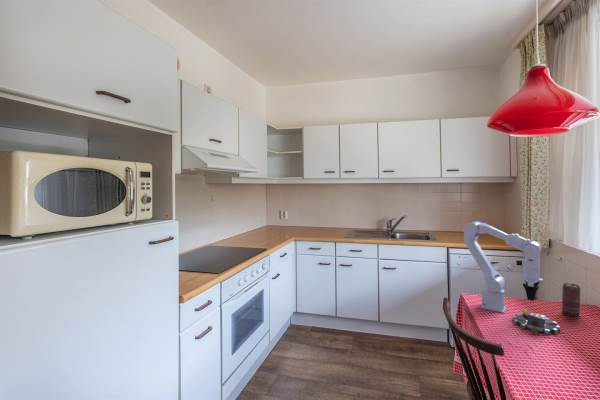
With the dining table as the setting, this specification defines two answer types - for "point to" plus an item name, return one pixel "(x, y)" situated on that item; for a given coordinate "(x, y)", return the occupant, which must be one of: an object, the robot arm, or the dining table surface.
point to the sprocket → (522, 321)
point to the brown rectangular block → (534, 330)
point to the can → (571, 300)
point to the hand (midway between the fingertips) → (531, 297)
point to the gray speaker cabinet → (536, 320)
